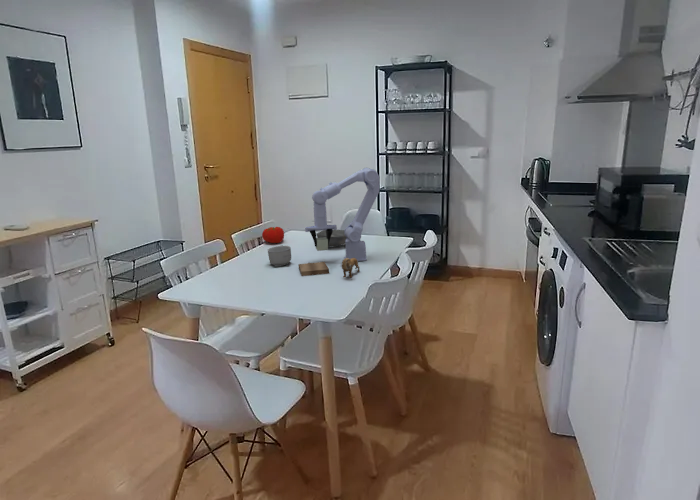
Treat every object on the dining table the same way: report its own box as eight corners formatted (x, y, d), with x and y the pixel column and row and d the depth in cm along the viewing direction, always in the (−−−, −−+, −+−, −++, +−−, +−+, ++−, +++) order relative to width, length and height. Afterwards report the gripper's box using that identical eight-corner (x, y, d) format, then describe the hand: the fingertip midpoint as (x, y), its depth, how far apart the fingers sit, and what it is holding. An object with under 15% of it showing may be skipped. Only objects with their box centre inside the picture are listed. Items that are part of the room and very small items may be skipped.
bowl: (356, 244, 249) (356, 230, 247) (338, 252, 235) (338, 236, 233) (329, 241, 259) (329, 227, 257) (310, 248, 244) (310, 233, 242)
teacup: (287, 268, 210) (286, 251, 208) (265, 267, 213) (263, 250, 211) (296, 259, 224) (295, 243, 222) (275, 259, 226) (274, 243, 224)
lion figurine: (352, 280, 190) (351, 259, 187) (339, 279, 191) (339, 259, 189) (361, 270, 203) (360, 250, 201) (349, 269, 205) (349, 250, 203)
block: (326, 247, 218) (326, 237, 217) (328, 250, 214) (327, 239, 212) (315, 248, 217) (315, 237, 216) (317, 250, 213) (317, 240, 211)
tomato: (266, 239, 267) (265, 225, 265) (287, 239, 265) (286, 224, 263) (259, 245, 254) (257, 230, 252) (281, 245, 252) (280, 230, 250)
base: (324, 265, 211) (324, 261, 211) (329, 273, 200) (329, 269, 200) (298, 268, 209) (298, 264, 209) (301, 276, 198) (301, 271, 197)
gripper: (334, 214, 217) (335, 242, 220) (303, 216, 214) (305, 244, 217) (337, 216, 210) (338, 245, 214) (305, 219, 207) (307, 248, 211)
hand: (321, 245), depth 215 cm, fingers closed on block, 5 cm apart
